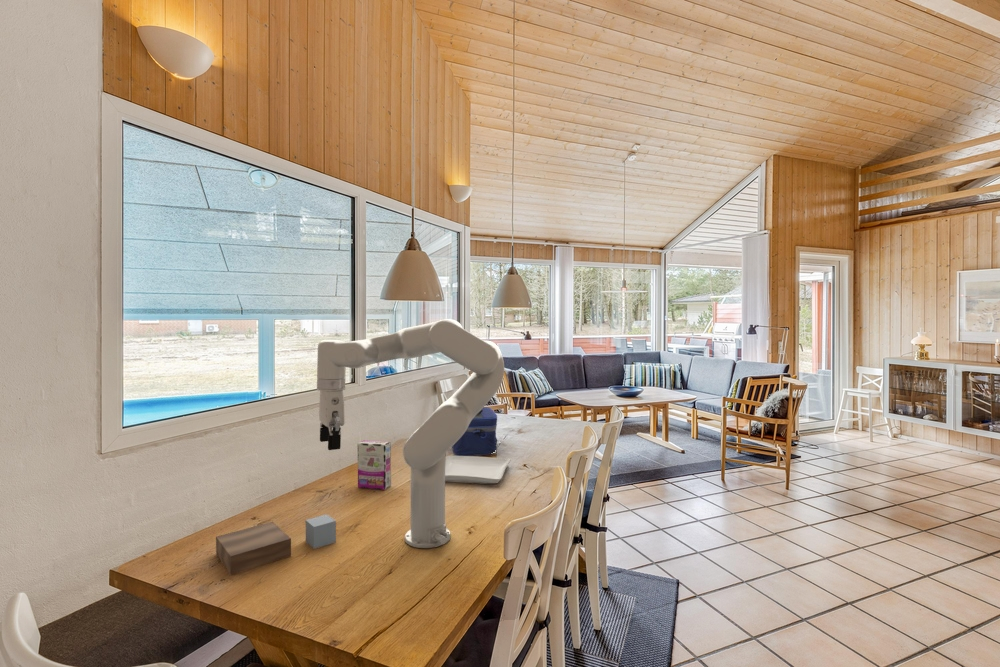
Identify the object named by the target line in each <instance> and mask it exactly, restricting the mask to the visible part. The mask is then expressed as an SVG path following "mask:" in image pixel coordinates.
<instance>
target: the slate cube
mask: <svg viewBox="0 0 1000 667" xmlns="http://www.w3.org/2000/svg"><path fill="white" fill-rule="evenodd" d="M305 542H306V543H307V544H308V545H309V546H310V547H312V549H314V550H315V549H318V548H322V547H325V546H328V545H331V544H334V543H336V542H337V521H336V519H334V518H333V517H331V516H330V515H329V514H327V513H326V514H322V515H319V516H315V517H313V518H312V517H311V518H309V519H305Z"/></svg>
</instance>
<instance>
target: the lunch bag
mask: <svg viewBox="0 0 1000 667" xmlns="http://www.w3.org/2000/svg"><path fill="white" fill-rule="evenodd" d="M497 422H498V415H497V413H496V412H495V411H494V410H493V409H492V408H491V407H488V406H486V407H485V406H484V407H483V408H482V410H481V411H480V412H479V413H478V414H477V415H476V416H475V417H474V418H473V419H472V421H471V422H470V424H469V426H468V428H467V430H466V431H465V433H464V434H463V435H462V437H461V438H460V439H459V440H458V441H457V442H456V443H455V444H454V445H453V446H452V447H451V449H452V452H453V454H454V456H483V455H484V456H485V455H492V454H491V453H493V452H495V450H496V448H497V444H498V438H497V433H496V432H497V427H498V426H497V425H498V423H497Z"/></svg>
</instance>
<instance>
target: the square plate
mask: <svg viewBox="0 0 1000 667" xmlns="http://www.w3.org/2000/svg"><path fill="white" fill-rule="evenodd" d="M510 462H511V459H510V458H501V457H500V458H499V457H487V456H477V455H469V456H458V455H446V463H445V482H449V483H466V484H467V483H468V484H481V485H482V484H485V485H488V484H498V483H499V482H500V481H501V480H502V478H503V477H504V474H505V471H506V470H507V467H508V465H509V464H510Z"/></svg>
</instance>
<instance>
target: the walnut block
mask: <svg viewBox="0 0 1000 667" xmlns="http://www.w3.org/2000/svg"><path fill="white" fill-rule="evenodd" d="M215 547H216V548H215V551H216V553H215V554H216V556H217V557H218V559H219V560H220V562H221V563H222V564H223V566H224V567H225V569H226V571H227V572H228V573H229V574H230V576H233V575H236V574H240V573H243V572H246V571H248V570H252V569H255V568H258V567H261V566H264V565H265V566H266V565H268V564H271V563H274V562H277V561H280V560H283V559H286V558H290V557H292V538H291V537H290V536H289V535H288V534H287V533H286V532H285V531H283V529H281V528H280V527H279V526H278V525H277V524H276V523H275V522H274V521H270V522H266V523H263V524H258V525H254V526H251V527H247V528H244V529H240V530H236V531H231V532H230V533H224V534H222V535H221V534H220V535H217V536H215Z"/></svg>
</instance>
